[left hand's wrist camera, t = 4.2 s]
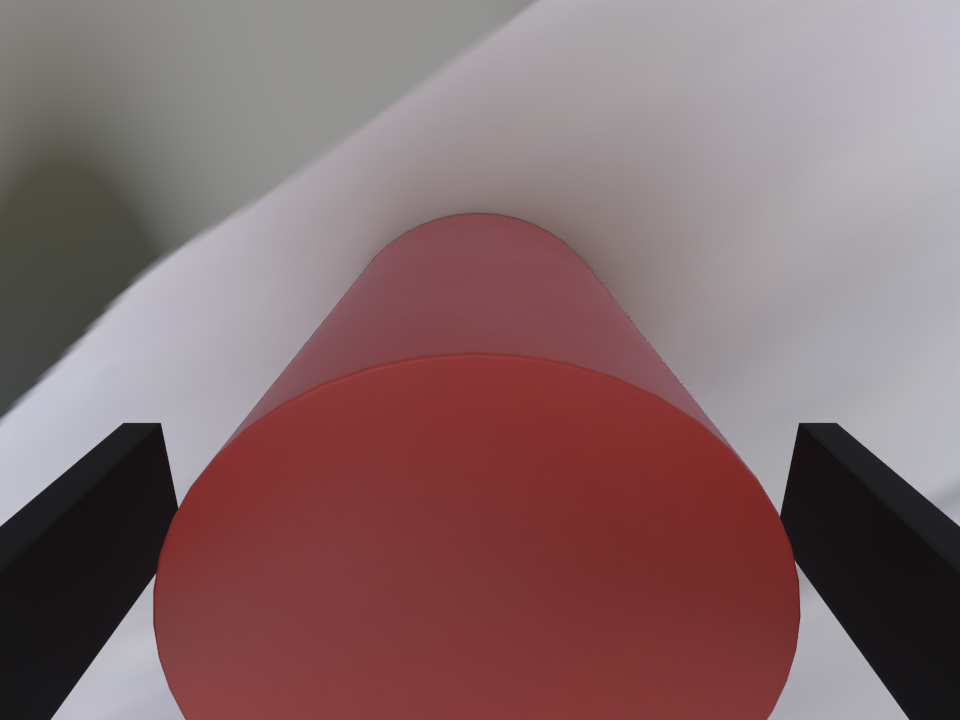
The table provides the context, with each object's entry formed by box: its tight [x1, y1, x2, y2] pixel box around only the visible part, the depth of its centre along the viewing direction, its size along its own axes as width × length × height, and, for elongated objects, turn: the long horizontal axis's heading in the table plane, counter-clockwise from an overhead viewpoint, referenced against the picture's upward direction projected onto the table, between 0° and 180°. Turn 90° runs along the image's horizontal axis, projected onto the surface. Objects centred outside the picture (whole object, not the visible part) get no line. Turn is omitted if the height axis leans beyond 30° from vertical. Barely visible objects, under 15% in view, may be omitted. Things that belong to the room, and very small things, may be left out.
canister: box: [153, 213, 800, 720], centre depth 15 cm, size 9×9×13 cm
